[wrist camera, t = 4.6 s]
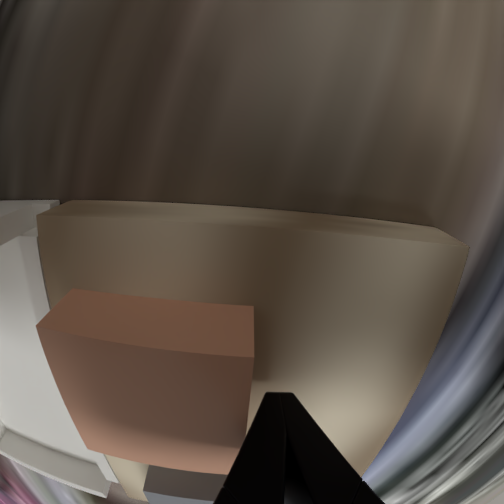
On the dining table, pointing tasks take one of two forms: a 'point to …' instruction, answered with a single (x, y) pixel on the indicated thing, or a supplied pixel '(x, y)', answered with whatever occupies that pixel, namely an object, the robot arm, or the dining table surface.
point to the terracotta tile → (153, 376)
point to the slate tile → (181, 486)
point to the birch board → (278, 298)
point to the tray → (35, 365)
